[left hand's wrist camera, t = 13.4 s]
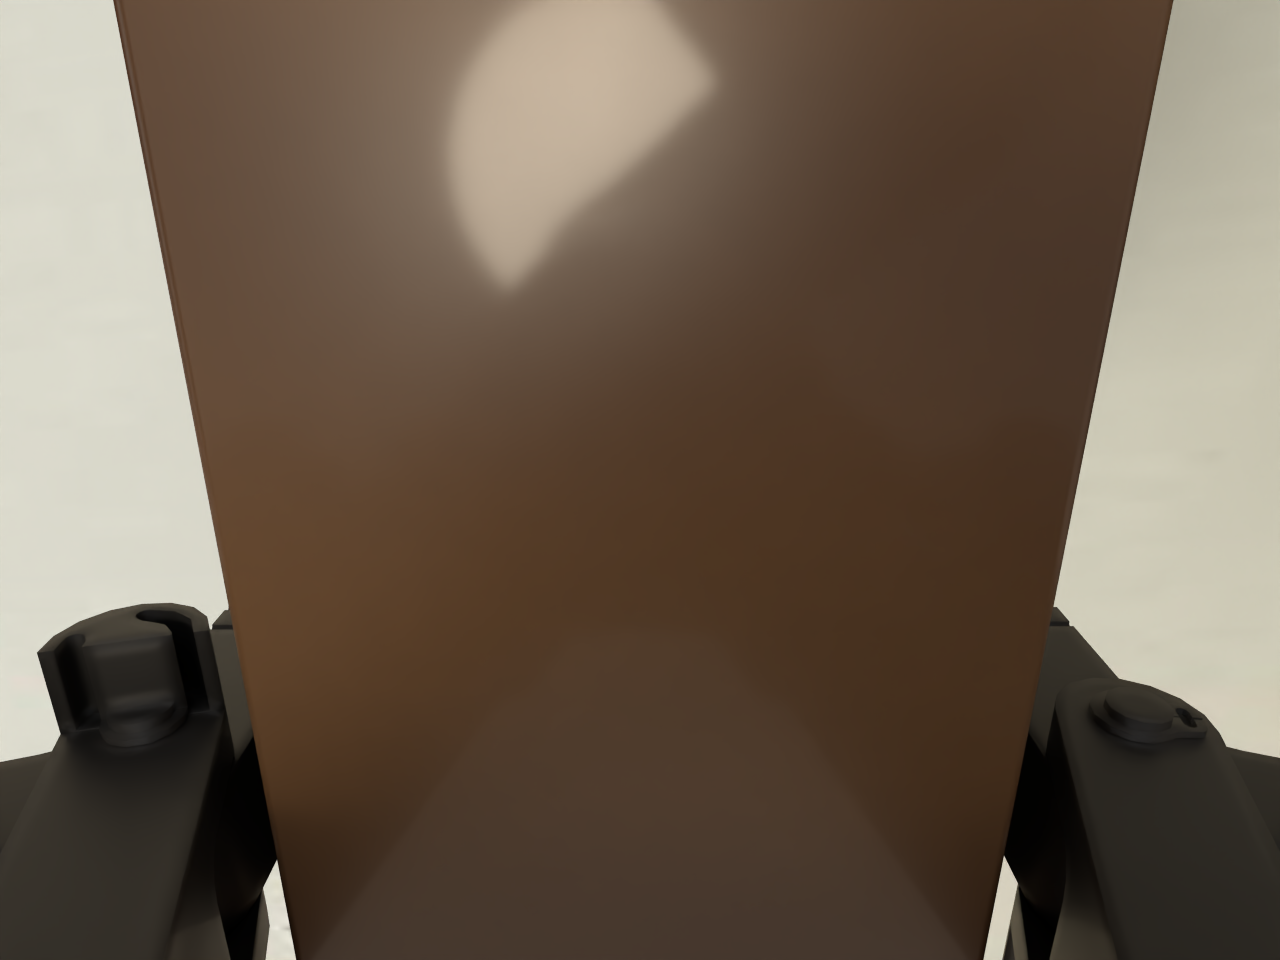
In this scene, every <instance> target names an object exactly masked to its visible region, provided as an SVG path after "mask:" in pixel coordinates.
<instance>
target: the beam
mask: <svg viewBox="0 0 1280 960" xmlns="http://www.w3.org/2000/svg"><path fill="white" fill-rule="evenodd" d="M113 1H114V6H115V12H116V17H117V22H118V27H119V33H120V38H121V43H122V48H123V54H124V59H125V64H126V69H127V75H128V80H129V85H130V90H131V96H132V101H133V106H134V111H135V116H136V122H137V127H138V132H139V137H140V143H141V148H142V153H143V158H144V164H145V169H146V174H147V179H148V185H149V190H150V195H151V200H152V206H153V211H154V216H155V221H156V227H157V232H158V237H159V242H160V248H161V253H162V258H163V263H164V269H165V274H166V279H167V284H168V290H169V295H170V300H171V305H172V310H173V316H174V321H175V326H176V331H177V337H178V342H179V347H180V352H181V358H182V363H183V368H184V373H185V379H186V384H187V389H188V394H189V400H190V405H191V410H192V415H193V421H194V426H195V431H196V436H197V442H198V447H199V452H200V457H201V463H202V468H203V473H204V478H205V483H206V489H207V494H208V499H209V504H210V510H211V515H212V520H213V525H214V531H215V536H216V541H217V546H218V552H219V557H220V562H221V567H222V573H223V578H224V583H225V588H226V594H227V599H228V604H229V609H230V615H231V620H232V625H233V630H234V636H235V641H236V646H237V651H238V656H239V662H240V667H241V672H242V677H243V683H244V688H245V693H246V698H247V704H248V709H249V714H250V719H251V725H252V730H253V735H254V740H255V746H256V751H257V756H258V761H259V767H260V772H261V777H262V782H263V788H264V793H265V798H266V803H267V809H268V814H269V819H270V824H271V830H272V835H273V840H274V845H275V850H276V856H277V861H278V866H279V871H280V877H281V882H282V887H283V892H284V898H285V903H286V908H287V913H288V919H289V924H290V929H291V934H292V940H293V945H294V950H295V955H296V960H983V958H984V953H985V948H986V943H987V938H988V933H989V928H990V923H991V918H992V913H993V908H994V903H995V898H996V893H997V888H998V883H999V878H1000V873H1001V868H1002V862H1003V857H1004V852H1005V847H1006V842H1007V837H1008V832H1009V827H1010V822H1011V817H1012V812H1013V807H1014V802H1015V797H1016V792H1017V787H1018V782H1019V777H1020V772H1021V767H1022V762H1023V757H1024V751H1025V746H1026V741H1027V736H1028V731H1029V726H1030V721H1031V716H1032V711H1033V706H1034V701H1035V696H1036V691H1037V686H1038V681H1039V676H1040V671H1041V666H1042V661H1043V656H1044V651H1045V645H1046V640H1047V635H1048V630H1049V625H1050V620H1051V615H1052V610H1053V605H1054V600H1055V595H1056V590H1057V585H1058V580H1059V575H1060V570H1061V565H1062V560H1063V555H1064V550H1065V545H1066V539H1067V534H1068V529H1069V524H1070V519H1071V514H1072V509H1073V504H1074V499H1075V494H1076V489H1077V484H1078V479H1079V474H1080V469H1081V464H1082V459H1083V454H1084V449H1085V444H1086V439H1087V433H1088V428H1089V423H1090V418H1091V413H1092V408H1093V403H1094V398H1095V393H1096V388H1097V383H1098V378H1099V373H1100V368H1101V363H1102V358H1103V353H1104V348H1105V343H1106V338H1107V333H1108V327H1109V322H1110V317H1111V312H1112V307H1113V302H1114V297H1115V292H1116V287H1117V282H1118V277H1119V272H1120V267H1121V262H1122V257H1123V252H1124V247H1125V242H1126V237H1127V232H1128V227H1129V221H1130V216H1131V211H1132V206H1133V201H1134V196H1135V191H1136V186H1137V181H1138V176H1139V171H1140V166H1141V161H1142V156H1143V151H1144V146H1145V141H1146V136H1147V131H1148V126H1149V121H1150V115H1151V110H1152V105H1153V100H1154V95H1155V90H1156V85H1157V80H1158V75H1159V70H1160V65H1161V60H1162V55H1163V50H1164V45H1165V40H1166V35H1167V30H1168V25H1169V20H1170V15H1171V9H1172V4H1173V0H113Z"/></svg>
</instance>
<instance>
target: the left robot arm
mask: <svg viewBox="0 0 1280 960" xmlns="http://www.w3.org/2000/svg"><path fill="white" fill-rule="evenodd" d="M37 654H38V658H39V661H40V665H41V668H42V671H43V675H44V678H45V682H46V685H47V689H48V692H49V695H50V699H51V702H52V706H53V709H54V713H55V716H56V720H57V723H58V726H59V730H60V733H61V735H60V737H59V739H58V741H57V743H56V745H55V746H54V748H53V750H52V752H48V753H44V754H40V755H35V756H30V757H25V758H19V759H14V760H9V761H4V762H0V960H265V959H266V951H267V943H268V935H269V927H270V925H269V918H268V912H267V906H266V901H265V896H264V891H263V887H264V885H265V883H266V881H267V879H268V877H269V874H270V872H271V870H272V868H273V866H274V864H275V862H276V860H277V856H276V850H275V845H274V840H273V835H272V830H271V824H270V819H269V814H268V809H267V803H266V798H265V793H264V788H263V782H262V777H261V772H260V767H259V761H258V756H257V751H256V746H255V740H254V735H253V730H252V725H251V719H250V714H249V709H248V704H247V698H246V693H245V688H244V683H243V677H242V672H241V667H240V662H239V656H238V651H237V646H236V641H235V636H234V630H233V625H232V620H231V615H230V609H228V610H225V611H224V612H223V613H222V614H221V615H220V616H219V618H218V619H217V620H216V621H215V622H214V623H213V624H212V630H210V628H209V624H208V619H207V616H206V615H204V614H203V613H201V612H200V611H198V610H197V609H196V608H194V607H190V606H185V605H180V604H174V603H156V604H140V605H135V606H130V607H125V608H120V609H115V610H110V611H107V612H105V613H102V614H99V615H96V616H94V617H91V618H88V619H85V620H82V621H80V622H78V623H76V624H74V625H72V626H71V627H69V628H67V629H65V630H64V631H62V632H60V633H58V634H57V635H55V636H53V637H52V638H51V639H50V640H49V641H48V642H47V643H46V644H45V645H44V646H43V647H42V648H41V649H40V650H39V651H38V652H37ZM1004 856H1005V858H1006V860H1007V862H1008V864H1009V866H1010V868H1011V870H1012V872H1013V874H1014V876H1015V878H1016V880H1017V882H1018V886H1017V891H1016V896H1015V901H1014V906H1013V910H1012V915H1011V920H1010V925H1009V930H1008V935H1007V940H1006V945H1005V949H1004V954H1003V959H1002V960H1280V758H1277V757H1272V756H1267V755H1262V754H1256V753H1251V752H1246V751H1241V750H1237V749H1233V748H1230V747H1226V745H1225V743H1224V741H1223V739H1222V737H1221V735H1220V733H1219V732H1218V731H1217V729H1216V728H1215V727H1214V726H1213V725H1212V723H1211V722H1210V721H1209V720H1208V719H1207V717H1206V716H1205V715H1204V714H1202V713H1201V712H1199V711H1198V710H1196V709H1195V708H1193V707H1192V706H1190V705H1189V704H1187V703H1186V702H1184V701H1183V700H1181V699H1180V698H1178V697H1175V696H1173V695H1170V694H1168V693H1166V692H1163V691H1161V690H1159V689H1156V688H1154V687H1151V686H1148V685H1144V684H1139V683H1135V682H1131V681H1127V680H1122V679H1119V678H1118V677H1117V676H1116V675H1115V674H1114V673H1113V671H1112V670H1111V669H1110V668H1109V667H1108V666H1107V664H1106V663H1105V662H1104V661H1103V660H1102V659H1101V658H1100V656H1099V655H1098V654H1097V653H1096V652H1095V651H1094V649H1093V648H1092V647H1091V646H1090V645H1089V644H1088V643H1087V641H1086V640H1085V639H1084V638H1083V637H1082V636H1081V634H1080V633H1079V632H1078V631H1077V630H1076V629H1075V628H1074V626H1069V621H1068V619H1067V618H1066V617H1065V616H1064V615H1063V614H1062V613H1061V611H1060V610H1059V609H1058V608H1057V607H1053V610H1052V615H1051V620H1050V625H1049V630H1048V635H1047V640H1046V645H1045V651H1044V656H1043V661H1042V666H1041V671H1040V676H1039V681H1038V686H1037V691H1036V696H1035V701H1034V706H1033V711H1032V716H1031V721H1030V726H1029V731H1028V736H1027V741H1026V746H1025V751H1024V757H1023V762H1022V767H1021V772H1020V777H1019V782H1018V787H1017V792H1016V797H1015V802H1014V807H1013V812H1012V817H1011V822H1010V827H1009V832H1008V837H1007V842H1006V847H1005V852H1004Z"/></svg>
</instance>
